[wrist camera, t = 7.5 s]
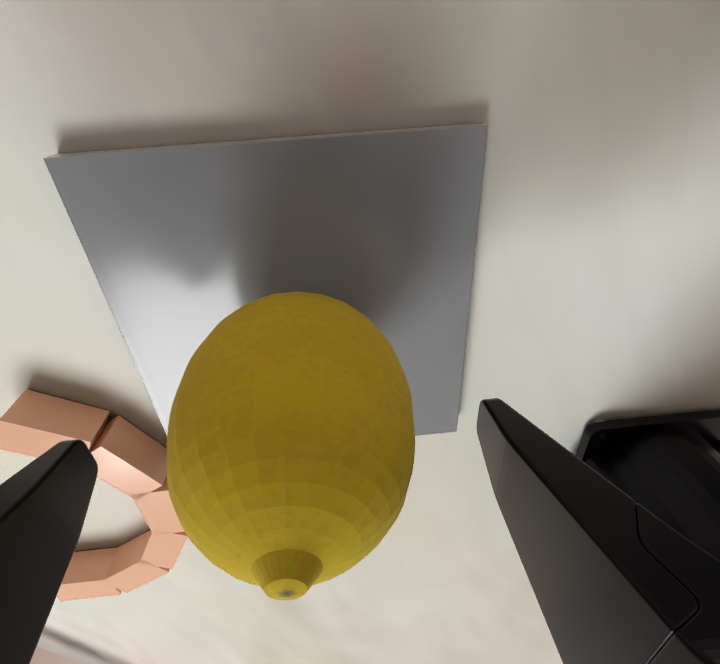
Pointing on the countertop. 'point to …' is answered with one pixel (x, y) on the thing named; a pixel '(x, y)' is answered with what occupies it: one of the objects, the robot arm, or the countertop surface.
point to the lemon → (290, 442)
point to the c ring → (117, 468)
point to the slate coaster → (287, 242)
